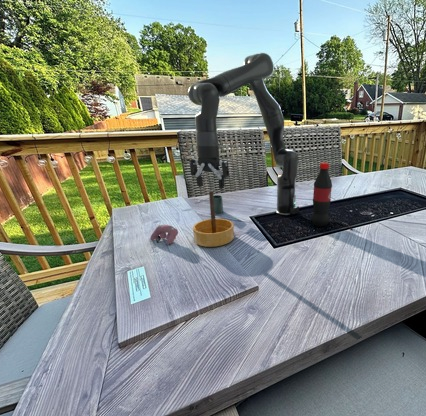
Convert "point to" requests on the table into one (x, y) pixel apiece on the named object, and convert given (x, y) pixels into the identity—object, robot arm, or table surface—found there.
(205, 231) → the bowl
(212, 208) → the stick
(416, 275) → the table surface
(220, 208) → the holder
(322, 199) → the cola bottle
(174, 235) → the video game controller
